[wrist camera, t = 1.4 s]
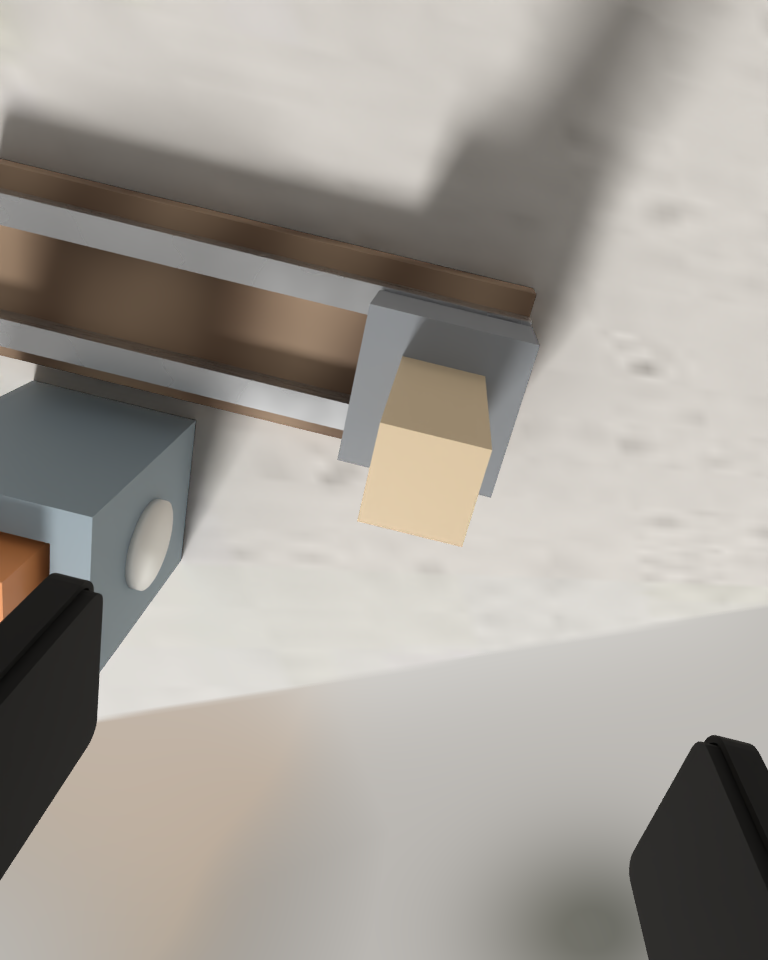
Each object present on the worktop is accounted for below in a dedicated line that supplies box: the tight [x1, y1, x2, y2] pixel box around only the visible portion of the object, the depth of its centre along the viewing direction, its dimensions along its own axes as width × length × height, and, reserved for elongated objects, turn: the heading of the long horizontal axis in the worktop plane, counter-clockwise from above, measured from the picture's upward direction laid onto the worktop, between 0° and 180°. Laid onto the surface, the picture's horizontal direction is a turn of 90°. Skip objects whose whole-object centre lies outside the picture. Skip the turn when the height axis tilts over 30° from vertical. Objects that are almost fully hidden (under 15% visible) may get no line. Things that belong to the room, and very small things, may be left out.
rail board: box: [0, 159, 536, 439], centre depth 29 cm, size 23×8×3 cm, turn 78°
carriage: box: [337, 290, 540, 547], centre depth 23 cm, size 6×6×10 cm
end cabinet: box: [0, 381, 196, 673], centre depth 30 cm, size 8×8×10 cm
